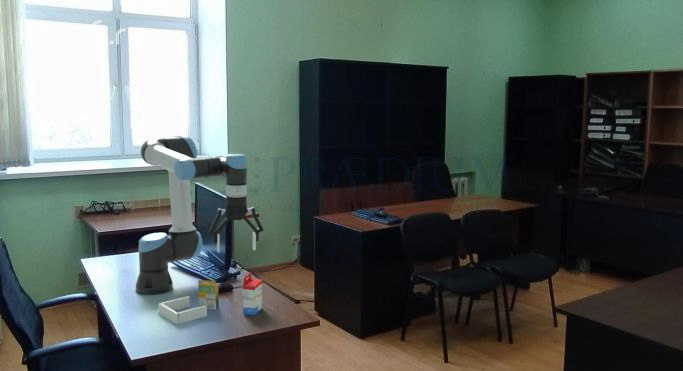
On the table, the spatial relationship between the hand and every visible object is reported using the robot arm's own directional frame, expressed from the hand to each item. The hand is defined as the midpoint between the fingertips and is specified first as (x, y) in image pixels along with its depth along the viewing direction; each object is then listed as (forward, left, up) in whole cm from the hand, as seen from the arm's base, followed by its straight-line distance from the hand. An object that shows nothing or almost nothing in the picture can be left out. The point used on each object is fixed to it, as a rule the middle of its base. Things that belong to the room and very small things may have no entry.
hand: (236, 250), depth 220 cm
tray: (-11, -17, -25) cm, 32 cm away
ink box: (+3, +5, -25) cm, 26 cm away
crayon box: (-11, -6, -25) cm, 28 cm away
